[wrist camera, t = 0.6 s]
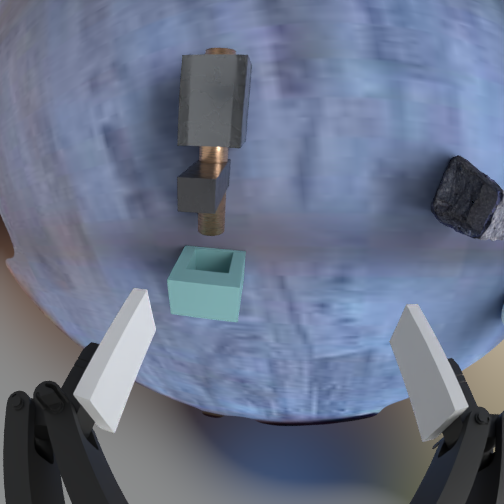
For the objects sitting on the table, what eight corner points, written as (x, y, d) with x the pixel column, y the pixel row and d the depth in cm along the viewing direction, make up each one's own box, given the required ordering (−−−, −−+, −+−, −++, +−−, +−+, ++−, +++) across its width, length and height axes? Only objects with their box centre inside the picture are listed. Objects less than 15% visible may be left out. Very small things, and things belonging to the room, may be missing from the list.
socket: (185, 245, 37) (167, 279, 30) (245, 251, 37) (239, 287, 30) (186, 276, 39) (171, 313, 32) (243, 282, 39) (237, 322, 32)
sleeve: (197, 63, 26) (182, 55, 20) (251, 64, 26) (247, 55, 20) (193, 138, 30) (177, 145, 25) (245, 141, 30) (240, 148, 25)
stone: (413, 194, 33) (451, 137, 26) (453, 211, 35) (487, 164, 28) (454, 263, 25) (509, 199, 18) (489, 271, 28) (534, 221, 20)
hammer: (208, 53, 24) (184, 34, 16) (238, 53, 24) (226, 33, 16) (200, 223, 34) (179, 261, 26) (226, 225, 34) (213, 265, 26)
